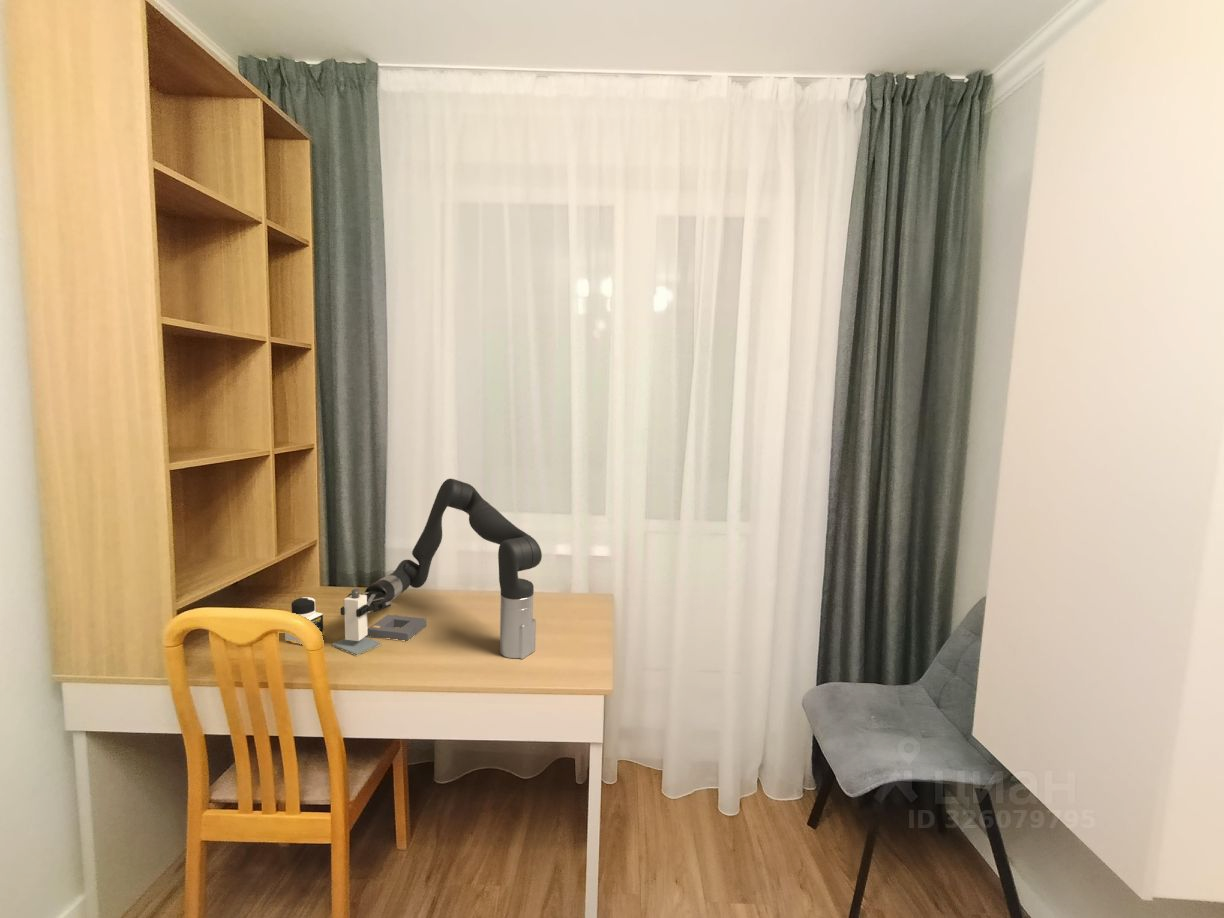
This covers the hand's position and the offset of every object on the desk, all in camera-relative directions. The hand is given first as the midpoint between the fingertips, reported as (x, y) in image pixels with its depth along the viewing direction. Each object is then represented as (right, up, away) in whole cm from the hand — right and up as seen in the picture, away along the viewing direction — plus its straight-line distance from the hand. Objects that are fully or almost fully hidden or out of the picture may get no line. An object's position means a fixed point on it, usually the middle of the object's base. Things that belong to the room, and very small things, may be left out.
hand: (349, 612), depth 156 cm
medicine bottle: (-17, -10, +7) cm, 20 cm away
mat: (0, -11, +4) cm, 11 cm away
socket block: (+8, -10, +14) cm, 19 cm away
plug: (0, -8, +4) cm, 9 cm away
